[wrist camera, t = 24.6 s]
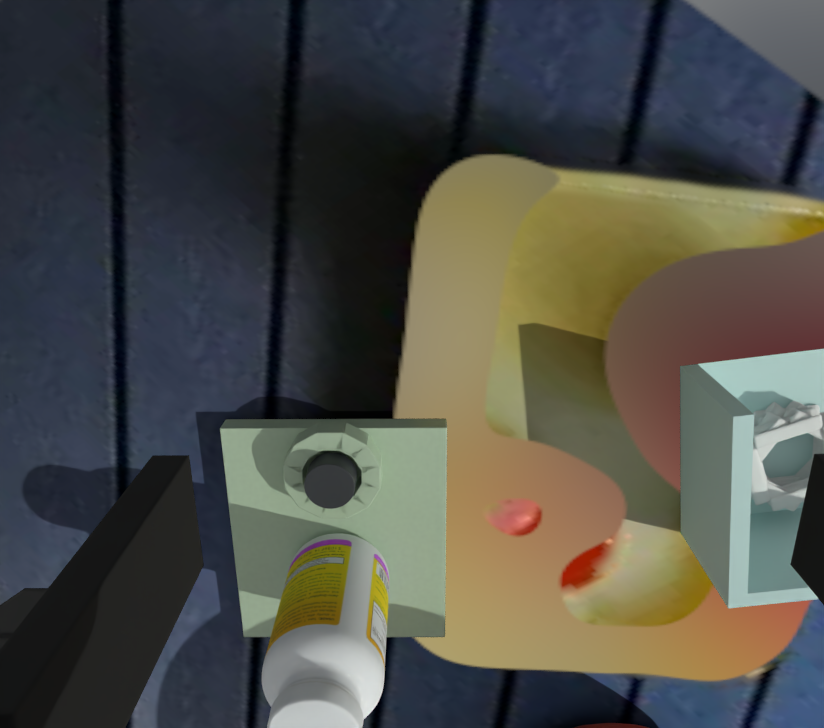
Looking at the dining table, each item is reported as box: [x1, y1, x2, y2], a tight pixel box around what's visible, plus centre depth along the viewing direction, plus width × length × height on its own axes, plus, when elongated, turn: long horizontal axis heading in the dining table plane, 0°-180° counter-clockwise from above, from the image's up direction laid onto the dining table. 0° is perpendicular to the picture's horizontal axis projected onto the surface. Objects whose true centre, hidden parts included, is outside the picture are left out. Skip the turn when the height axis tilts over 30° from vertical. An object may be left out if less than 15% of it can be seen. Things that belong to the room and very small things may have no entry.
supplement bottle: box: [262, 533, 389, 728], centre depth 39 cm, size 7×7×13 cm
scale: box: [220, 419, 447, 637], centre depth 44 cm, size 16×14×3 cm
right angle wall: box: [680, 349, 824, 608], centre depth 40 cm, size 12×12×8 cm
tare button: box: [304, 452, 357, 509], centre depth 41 cm, size 3×3×2 cm
